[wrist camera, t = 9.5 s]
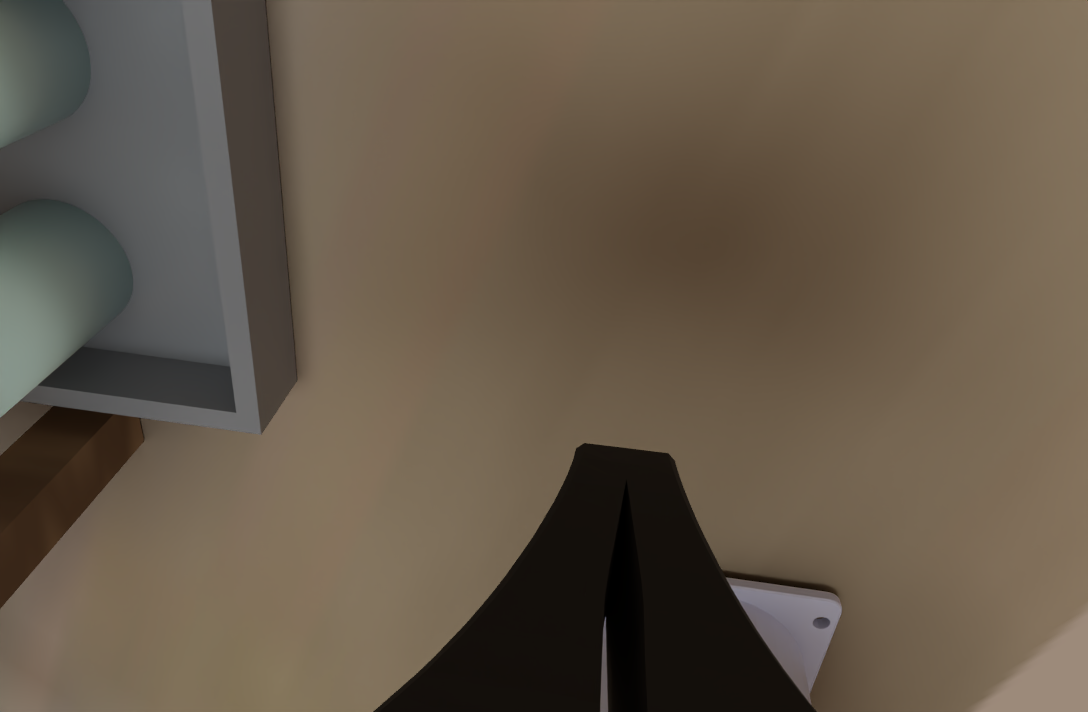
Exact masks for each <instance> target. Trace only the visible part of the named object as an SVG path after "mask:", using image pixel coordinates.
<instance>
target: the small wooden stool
mask: <svg viewBox="0 0 1088 712" xmlns="http://www.w3.org/2000/svg"><path fill="white" fill-rule="evenodd" d="M143 442H144V438H143V433H142V428H141V424H140V419H139V418H138V417H131V416H124V415H117V414H110V413H102V412H95V411H88V410H81V409H74V408H66V407H59V406H53V407H52V408H51V409H50V410H49V411H48V412H47V413H46V414H45V415H44V416H42V417H41V418H40V419H39V420H38V421H37V422H36V423H35V424H34V425H33V426H32V427H31V428H30V429H29V430H27V431H26V432H25V433H24V434H23V435H22V436H21V437H20V438H19V439H18V440H17V441H16V442H15V443H14V444H12V445H11V446H10V447H9V448H8V449H7V450H6V451H5V452H4V453H3V454H2V455H1V456H0V608H1V607H2V606H3V605H4V604H5V603H6V601H7V600H8V599H9V598H10V597H11V596H12V594H13V593H14V592H15V591H16V590H17V589H18V587H19V586H20V585H21V584H22V583H23V582H24V580H25V579H26V578H27V577H28V576H29V575H30V573H31V572H32V571H33V570H34V569H35V568H36V566H37V565H38V564H39V563H40V562H41V561H42V559H43V558H44V557H45V556H46V555H47V554H48V552H49V551H50V550H51V549H52V548H53V547H54V545H55V544H56V543H57V542H58V541H59V540H60V538H61V537H62V536H63V535H64V534H65V533H66V531H67V530H68V529H69V528H70V527H71V526H72V524H73V523H74V522H75V521H76V520H77V519H78V517H79V516H80V515H81V514H82V513H83V512H84V510H85V509H86V508H87V507H88V506H89V505H90V503H91V502H92V501H93V500H94V499H95V498H96V496H97V495H98V494H99V493H100V492H101V491H102V489H103V488H104V487H105V486H106V485H107V484H108V482H109V481H110V480H111V479H112V478H113V477H114V475H115V474H116V473H117V472H118V471H119V470H120V468H121V467H122V466H123V465H124V464H125V463H126V461H127V460H128V459H129V458H130V457H131V456H132V454H133V453H134V452H135V451H136V450H137V449H138V447H139V446H140V445H141V444H142V443H143Z"/></svg>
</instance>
